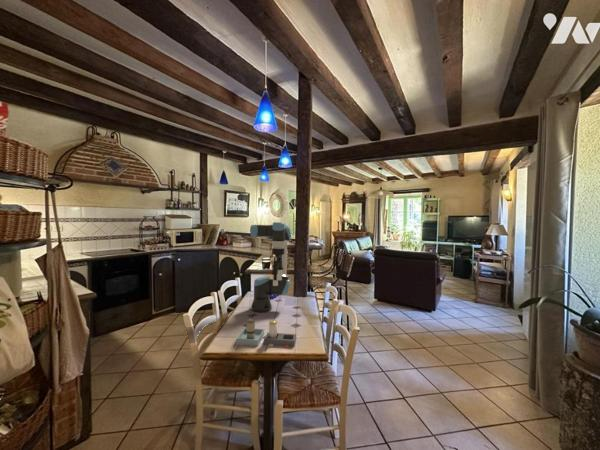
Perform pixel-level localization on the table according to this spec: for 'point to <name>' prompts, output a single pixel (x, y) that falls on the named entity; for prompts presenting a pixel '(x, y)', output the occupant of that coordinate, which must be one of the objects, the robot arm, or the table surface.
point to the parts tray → (253, 342)
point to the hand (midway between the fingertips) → (277, 282)
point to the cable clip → (273, 296)
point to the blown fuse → (251, 329)
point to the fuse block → (281, 340)
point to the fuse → (273, 329)
